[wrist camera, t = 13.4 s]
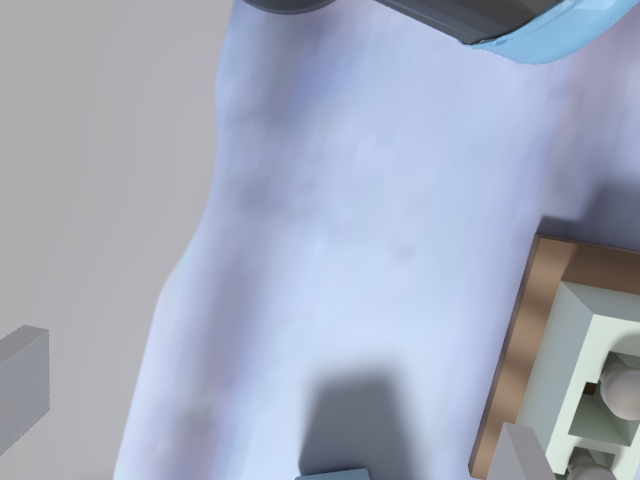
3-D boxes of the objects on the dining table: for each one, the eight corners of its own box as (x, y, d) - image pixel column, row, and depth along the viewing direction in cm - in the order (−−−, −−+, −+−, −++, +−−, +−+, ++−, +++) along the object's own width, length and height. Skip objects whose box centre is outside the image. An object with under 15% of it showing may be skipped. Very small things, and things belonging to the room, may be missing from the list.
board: (535, 233, 43) (583, 274, 33) (677, 257, 42) (771, 308, 32) (467, 466, 50) (490, 559, 40) (588, 491, 49) (642, 593, 39)
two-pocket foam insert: (560, 280, 42) (593, 314, 36) (643, 295, 42) (693, 332, 35) (497, 477, 48) (516, 537, 42) (570, 492, 48) (600, 556, 41)
